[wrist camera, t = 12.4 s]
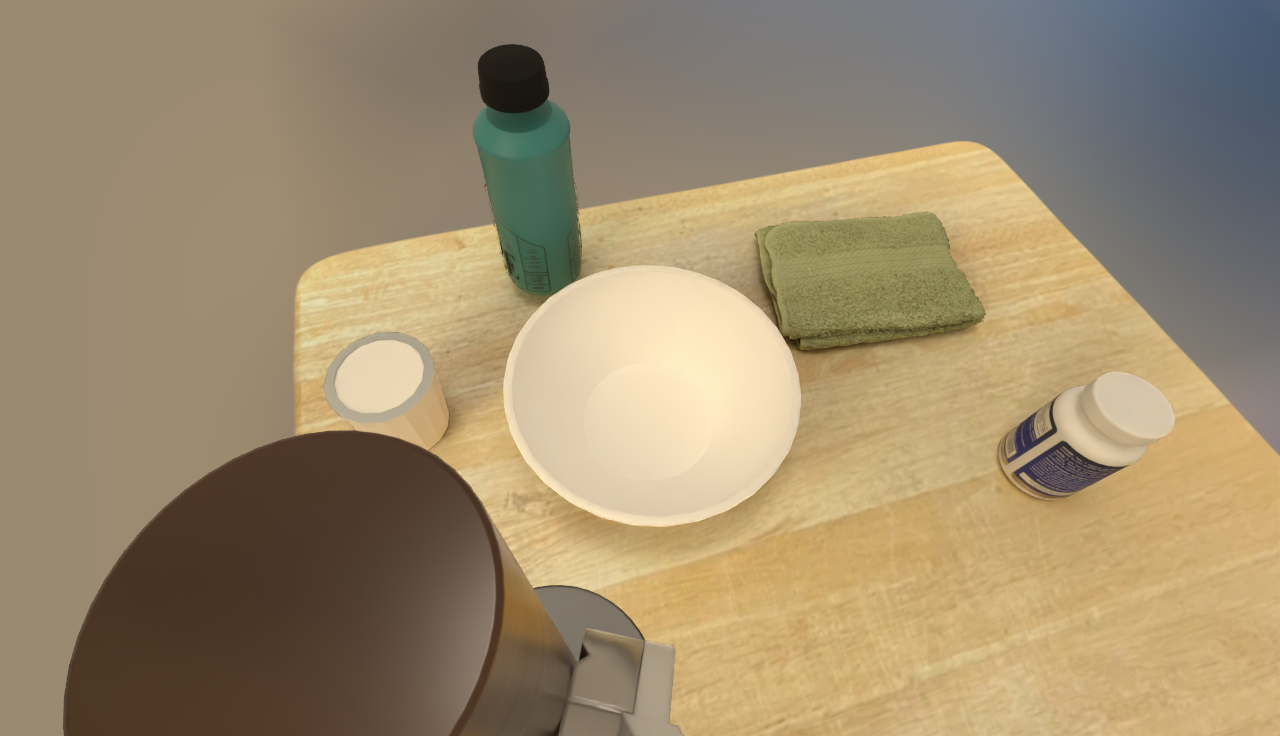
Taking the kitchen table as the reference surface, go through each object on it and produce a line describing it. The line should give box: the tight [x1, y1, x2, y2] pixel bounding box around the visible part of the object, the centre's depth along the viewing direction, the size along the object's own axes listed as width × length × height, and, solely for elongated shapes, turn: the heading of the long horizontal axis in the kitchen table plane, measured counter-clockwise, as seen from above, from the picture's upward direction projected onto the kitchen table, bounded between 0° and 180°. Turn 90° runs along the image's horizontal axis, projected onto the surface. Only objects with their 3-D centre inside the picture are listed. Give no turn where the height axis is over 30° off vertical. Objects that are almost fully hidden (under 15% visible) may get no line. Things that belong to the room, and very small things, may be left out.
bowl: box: [503, 265, 801, 527], centre depth 42 cm, size 20×20×7 cm
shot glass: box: [324, 332, 449, 451], centre depth 41 cm, size 7×7×7 cm
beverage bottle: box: [473, 44, 583, 295], centre depth 43 cm, size 6×7×20 cm
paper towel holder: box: [63, 431, 645, 736], centre depth 11 cm, size 6×6×18 cm
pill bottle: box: [999, 372, 1175, 500], centre depth 40 cm, size 6×6×10 cm
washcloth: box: [755, 212, 986, 351], centre depth 51 cm, size 13×18×3 cm
